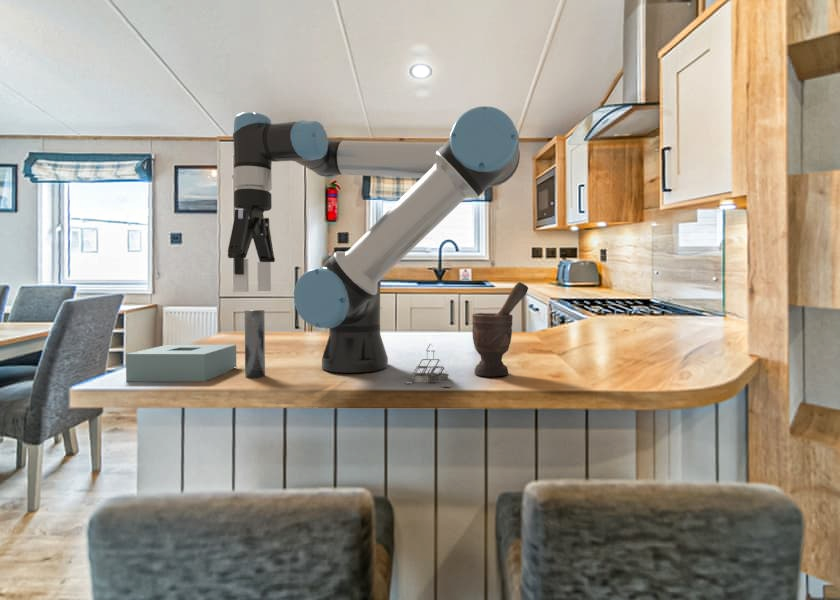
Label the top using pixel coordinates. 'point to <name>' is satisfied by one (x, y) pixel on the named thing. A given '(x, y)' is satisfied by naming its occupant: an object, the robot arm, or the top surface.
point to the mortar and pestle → (495, 335)
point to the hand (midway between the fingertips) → (253, 291)
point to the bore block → (180, 363)
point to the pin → (254, 343)
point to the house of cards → (430, 376)
